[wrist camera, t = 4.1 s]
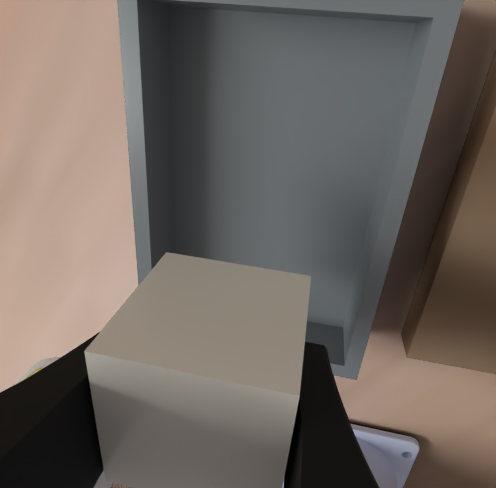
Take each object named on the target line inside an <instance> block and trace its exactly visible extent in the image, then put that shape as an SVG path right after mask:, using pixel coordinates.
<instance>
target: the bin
mask: <svg viewBox="0 0 496 488" xmlns="http://www.w3.org/2000/svg"><path fill="white" fill-rule="evenodd" d="M463 2H464V0H117V4H118V18H119V31H120V44H121V58H122V71H123V84H124V98H125V111H126V124H127V138H128V151H129V164H130V178H131V191H132V204H133V218H134V231H135V244H136V258H137V271H138V284H139V285H140V283H141V282H142V281H143V280H144V279H145V277H146V276H147V275H148V274H149V273H150V271H151V270H152V269H153V268H154V267H155V265H156V264H157V263H158V262H159V260H160V259H161V258H162V257H163V256H164V254H165V253H166V252H168V253H174V254H181V255H187V256H193V257H199V258H205V259H211V260H217V261H223V262H229V263H236V264H242V265H248V266H254V267H260V268H266V269H272V270H278V271H284V272H291V273H297V274H303V275H309V276H311V283H310V293H309V304H308V314H307V325H306V335H305V342H310V343H315V344H320V345H324V346H325V347H326V348H327V350H328V356H329V361H330V365H331V369H332V372H333V375H335V376H340V377H345V378H350V379H355V380H357V377H358V374H359V370H360V366H361V363H362V359H363V356H364V352H365V349H366V345H367V342H368V338H369V335H370V331H371V328H372V324H373V321H374V317H375V313H376V310H377V306H378V303H379V299H380V296H381V292H382V289H383V285H384V282H385V278H386V275H387V271H388V267H389V264H390V260H391V257H392V253H393V250H394V246H395V243H396V239H397V236H398V232H399V229H400V225H401V222H402V218H403V214H404V211H405V207H406V204H407V200H408V197H409V193H410V190H411V186H412V183H413V179H414V176H415V172H416V169H417V165H418V161H419V158H420V154H421V151H422V147H423V144H424V140H425V137H426V133H427V130H428V126H429V123H430V119H431V116H432V112H433V108H434V105H435V101H436V98H437V94H438V91H439V87H440V84H441V80H442V77H443V73H444V70H445V66H446V63H447V59H448V55H449V52H450V48H451V45H452V41H453V38H454V34H455V31H456V27H457V24H458V20H459V17H460V13H461V9H462V6H463Z"/></svg>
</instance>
